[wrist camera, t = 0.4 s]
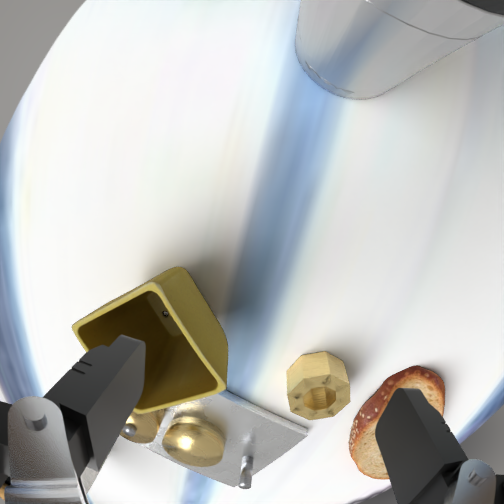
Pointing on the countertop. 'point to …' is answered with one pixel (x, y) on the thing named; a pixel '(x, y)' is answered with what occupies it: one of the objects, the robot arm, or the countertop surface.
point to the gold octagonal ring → (317, 386)
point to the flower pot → (165, 339)
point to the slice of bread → (366, 419)
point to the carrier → (216, 436)
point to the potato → (1, 490)
